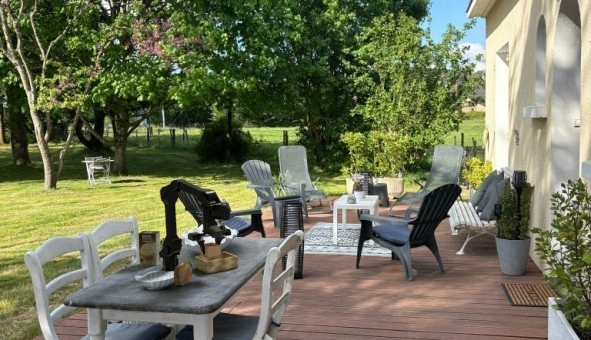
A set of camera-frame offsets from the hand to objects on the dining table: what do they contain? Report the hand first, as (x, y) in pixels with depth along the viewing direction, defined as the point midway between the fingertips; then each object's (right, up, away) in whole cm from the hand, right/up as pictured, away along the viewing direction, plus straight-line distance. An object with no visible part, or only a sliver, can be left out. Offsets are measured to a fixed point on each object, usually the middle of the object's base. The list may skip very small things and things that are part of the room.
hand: (210, 253), depth 245 cm
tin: (-11, -12, -6) cm, 17 cm away
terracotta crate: (0, -1, 0) cm, 1 cm away
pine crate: (0, -9, +17) cm, 19 cm away
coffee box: (-34, -10, +28) cm, 45 cm away
